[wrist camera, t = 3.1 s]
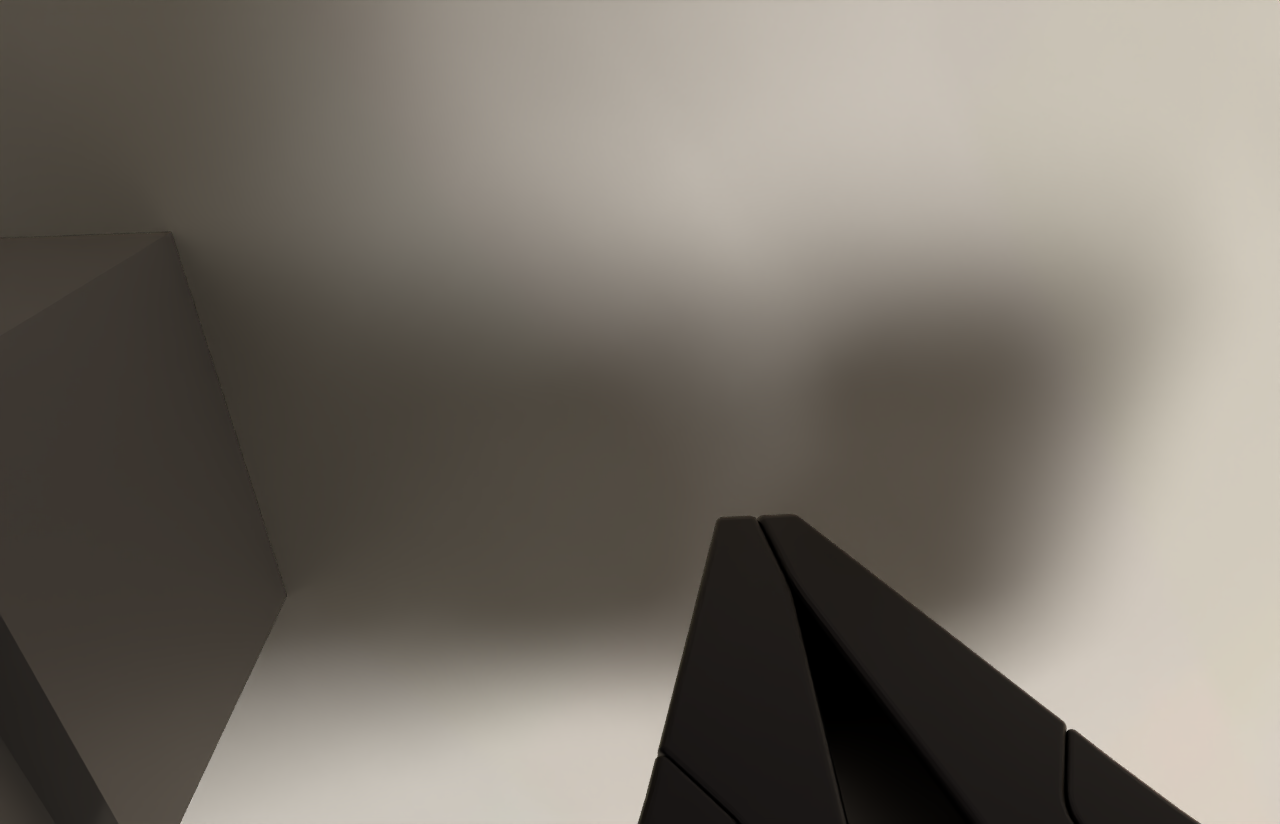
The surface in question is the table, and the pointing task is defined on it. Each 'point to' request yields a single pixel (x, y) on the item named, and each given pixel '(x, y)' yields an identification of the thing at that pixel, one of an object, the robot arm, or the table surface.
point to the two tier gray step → (117, 536)
